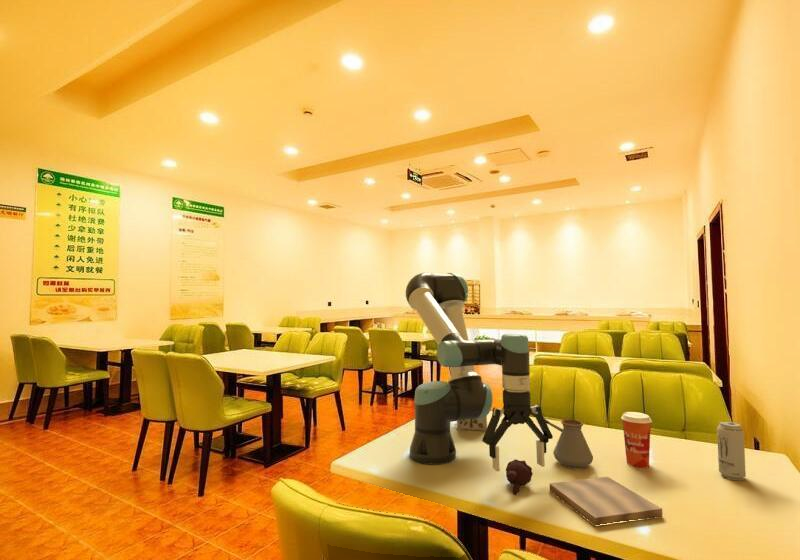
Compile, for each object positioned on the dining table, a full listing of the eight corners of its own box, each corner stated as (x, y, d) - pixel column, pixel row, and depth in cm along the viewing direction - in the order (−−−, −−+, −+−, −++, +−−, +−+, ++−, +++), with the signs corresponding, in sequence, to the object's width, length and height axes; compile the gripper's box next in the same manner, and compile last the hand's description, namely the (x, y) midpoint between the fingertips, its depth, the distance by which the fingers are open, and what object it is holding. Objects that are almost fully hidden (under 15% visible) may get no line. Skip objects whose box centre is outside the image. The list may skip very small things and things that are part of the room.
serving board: (595, 526, 93) (595, 517, 93) (549, 490, 110) (549, 483, 110) (662, 517, 96) (662, 508, 97) (607, 484, 114) (607, 476, 114)
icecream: (509, 450, 123) (494, 473, 110) (533, 448, 119) (521, 471, 106) (515, 473, 122) (502, 499, 109) (540, 472, 119) (529, 498, 105)
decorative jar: (458, 421, 174) (458, 378, 175) (486, 422, 172) (486, 379, 173) (456, 429, 162) (456, 383, 163) (486, 431, 160) (486, 384, 161)
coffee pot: (596, 462, 129) (595, 414, 130) (589, 475, 120) (587, 423, 121) (529, 448, 142) (528, 404, 142) (517, 459, 132) (516, 411, 133)
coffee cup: (619, 464, 128) (617, 415, 128) (626, 456, 134) (625, 409, 135) (650, 471, 122) (648, 420, 123) (656, 463, 128) (654, 414, 129)
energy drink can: (713, 472, 121) (711, 421, 122) (731, 471, 122) (729, 420, 123) (732, 481, 115) (730, 427, 116) (751, 480, 116) (749, 426, 117)
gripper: (480, 394, 109) (482, 477, 108) (563, 389, 115) (566, 468, 113) (469, 389, 117) (471, 466, 115) (548, 384, 122) (551, 458, 121)
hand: (518, 467), depth 114 cm, fingers open, 13 cm apart
